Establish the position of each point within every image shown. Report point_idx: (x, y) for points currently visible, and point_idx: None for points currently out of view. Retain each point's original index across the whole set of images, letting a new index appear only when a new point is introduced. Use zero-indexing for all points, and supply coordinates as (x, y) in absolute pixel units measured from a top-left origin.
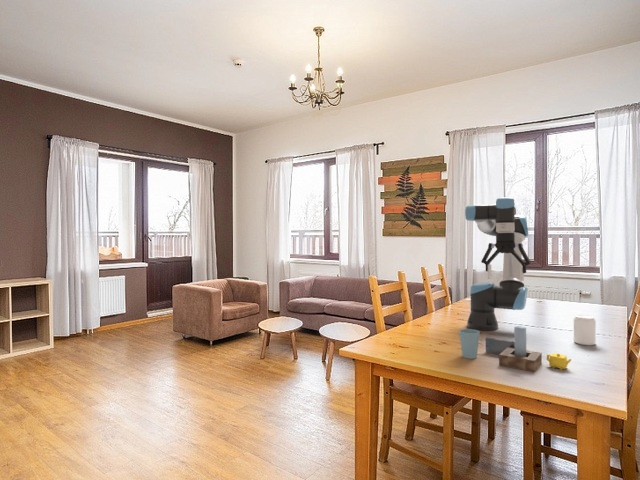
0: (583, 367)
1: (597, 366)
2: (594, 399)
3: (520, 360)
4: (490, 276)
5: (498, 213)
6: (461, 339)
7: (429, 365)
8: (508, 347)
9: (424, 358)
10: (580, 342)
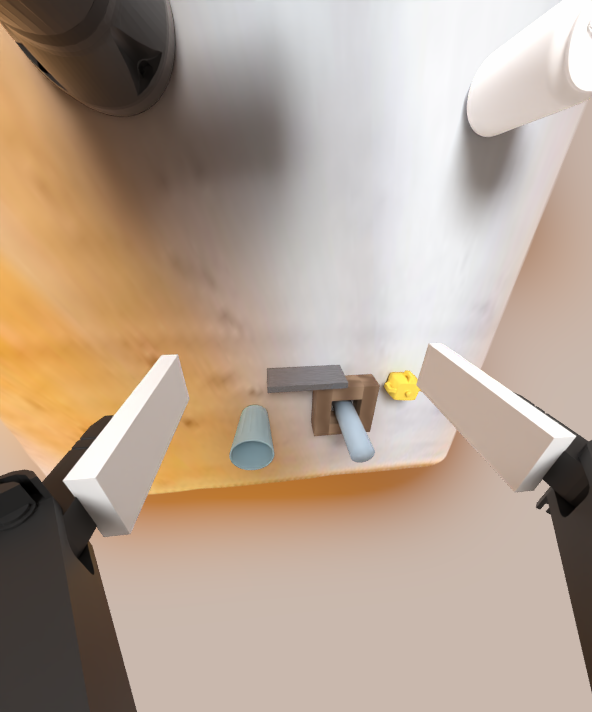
0: None
1: (462, 332)
2: (424, 454)
3: None
4: (177, 389)
5: None
6: (242, 452)
7: (226, 476)
8: (318, 390)
9: (200, 460)
10: (482, 133)
